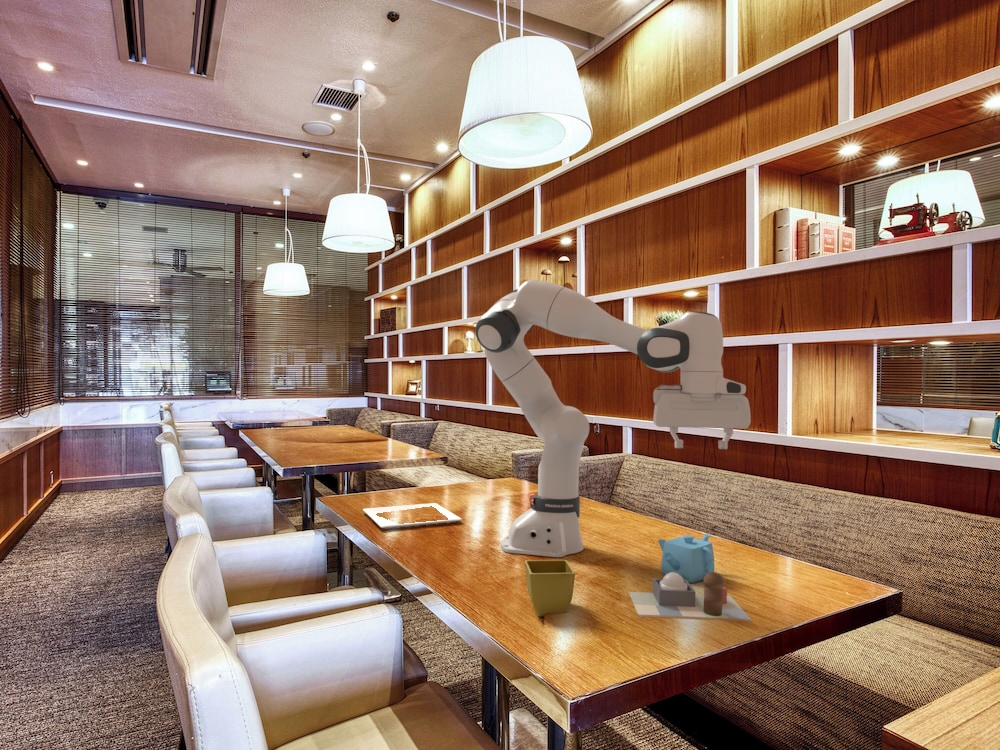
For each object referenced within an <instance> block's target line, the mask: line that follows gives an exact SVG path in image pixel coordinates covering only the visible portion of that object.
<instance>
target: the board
mask: <svg viewBox="0 0 1000 750" xmlns="http://www.w3.org/2000/svg"><path fill="white" fill-rule="evenodd" d="M661 580H663V578H652V592H645V591H643V592H641V591H628V595H629V596H630V599H631V601H632V604H633V605H634V608H635V611H636V613H637V616H638V617H639V618H656V619H657V618H659V619H660V618H662V619H663V618H664V619H683V620H684V619H685V620H687V619H688V620H708V621H727V622H729V621H732V622H754V621H753V619H752V618H751V617H749V615H748V614H747V613H746V612H745V611H744V609H743V608H742V606H740V605H739V604H738V603H737V602H736V600H735V599H734V598H733V597H732V596H731V595H727V604H722V615H720V616H712V615H709V614H706V613H704V611H703V609H704V594H697V593H696V590H695V589H694V588H693V586H692V585H691V583H689V582H688V581H687V580H684V582H685V583H686V584H687V591H686V590H662V589H661V588H660V581H661Z"/></svg>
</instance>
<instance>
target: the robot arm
mask: <svg viewBox="0 0 1000 750" xmlns="http://www.w3.org/2000/svg"><path fill="white" fill-rule="evenodd" d="M535 326H538V327H540V328H543V329H544V330H545V329H546V330H548V331H550V332H553V333H554V334H558V335H561V336H567V337H569V338H576V339H584V340H593V341H599V342H603V343H607V344H610V345H613V346H615V347H618V348H621V349H623V350H624V351H627V352H630V353H633V354H635V355H636V356H638V358H639V360H640V361H641V362H642V363H643V364H644V365H645V366H646V367H647V368H650V369H653V370H655V371H657V372H659V373H662V374H663V373H665V374H667V373H673V372H675V371H677V370H679V369H680V378H679V380H680V383H679V384H671V385H667V384H660V385H659V386H657V387H656V388H655V389H654V390H653V392H652V400H653V403H654V408H653V417H652V419H653V422H652V423H654V425H655V426H656V427H659V428H669V433H670V435H671V438H672V439H673V440H674V448H675V449H684V440H683V439H679V437H678V434H677V433H679V428H693V429H695V428H696V429H697V428H699V429H700V428H701V429H702V428H703V429H704V428H709V429H723V433H725V434H724V436H723V438H722V440H718V441H717V442H718V443H717V444H718V446H717V447H718V449H719V450H728V447H729V446H728V443H729V441H730V439H731V438H732V436H733V434H734V429H748V428H749V426H750V425H751V422H752V421H751V417H752V416H751V415H752V414H751V407H750V402H749V399H748V397H746V396H745V394H746V392H747V386H746V385H745V384H743V383H741V382H737V381H734V380H731V379H728V378H725V377H724V369H723V365H722V356H723V354H724V335H723V334H724V333H723V327H722V322H721V320H720V319H719V318H718V317H717V316H716V315H715V314H712V313H710V312H705V311H704V312H703V311H698V310H690V311H689V310H688V311H685V312H684V313H683V314H681V316H679V317H677V318H676V319H674V320H672V321H670V322H667V323H666V324H662V325H660V326H659V325H658V326H655V327H652V328H650V329H648V330H647V329H644V328H642V327H639V326H637V325H634V324H631V323H628V322H626V321H623V320H621V319H618V318H616V317H615V316H613V315H611V314H609V312H607V311H606V310H604V309H603V308H601V307H600V306H599V305H598V304H596V303H595V302H594V301H592V300H591V299H589V298H588V297H587V296H585V295H583V294H581V293H579V292H577V291H575V290H573V289H571V288H570V287H569V288H568V287H566V286H562V285H560V284H556V283H553V282H549V281H545V280H538V279H528V280H526V281H524V282H523V283H521V285H520V286H519V287H518V288H517V289H514V290H512V291H510V292H508V293H507V294H506V295H505V296H503V297H501V298H500V299H499V300H497V301H495V303H494V304H493V305H492V306H491V307H490V308H489V309H488V310H487V312H484V314H482V315H481V317H480V318H479V319H478V321H477V322H476V325H475V329H474V331H475V337H476V340H477V342H478V343H479V344H480V346H481V347H483V348H484V350H483V351H484V355H485V356H486V359H487V361H488V363H489V366H491V368H492V370H493V372H494V373H495V374H496V377H497V378H498V379H499V380H500V381H501V383H502V385H504V387H505V389H506V390H507V391H508V393H509V394H510V395H511V396H512V398H513V400H514V401H515V402H516V403H517V405H518V406H519V409H521V410H520V411H521V412H522V414H523V415H524V417H525V419H526V420H527V422H528V423H529V425H530V427H531V429H533V432H534V433H535V435H536V436H537V438H539V439H540V440H542V441H544V443H543V450H542V454H541V459H540V462H539V464H538V469H537V494H535V493H530V495H529V496H528V500H529V504H530V506H529V507H530V508H529V509H528V510H526V511H525V512H523V513H522V514H521V515H519V516H518V517H517V518H516V519H514V520H513V522H512V523H511V526H510V529H509V535H508V536H505V537H503V539H502V540H501V545H500V548H501V550H503V552H506V553H509V554H521V555H532V556H541V557H542V556H543V557H553V558H562V557H566V556H567V555H571V554H572V555H573V554H576V553H579V552H580V553H581V552H582V551H583V550H584V549H585V548H584V544H583V539H582V535H581V529H580V519H579V518H580V515H581V499H580V498H581V497H580V495H579V479H580V478H579V477H580V476H579V473H580V463H581V459H582V452H583V449H584V446H585V445H584V444H585V442H586V440H587V438H588V436H589V433H590V422H589V420H588V418H587V416H586V415H585V413H583V412H582V411H580V409H578V408H576V407H575V406H570V405H565V404H564V403H563V402H562V401H561V400H560V398H559V397H558V394H557V392H556V391H555V388H554V387H553V384H552V380H551V378H550V377H549V376H548V374H547V373H546V371H545V370H544V369H543V368H542V366H541V364H539V362H538V360H537V359H536V358H535V356H533V354H532V353H531V351H530V350H529V349H528V347H527V346H526V343H525V341H524V340H525V335H526V334H528V333H530V332H531V331H532V330H533V328H534V327H535Z"/></svg>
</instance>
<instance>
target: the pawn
mask: <svg viewBox="0 0 1000 750" xmlns="http://www.w3.org/2000/svg"><path fill="white" fill-rule="evenodd" d="M702 581H703V586H704V588H703V590H704V591H703V595H704V609H703V611H704V613H706V614H709V615H712V616H720V615H722V604H723V587H725V580H724V578H723V576H722V575H721V574H720V573H718V572H716V571H714V572H709V573H707V574H706V575H705V577H704V580H702Z"/></svg>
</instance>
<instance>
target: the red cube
mask: <svg viewBox="0 0 1000 750" xmlns="http://www.w3.org/2000/svg"><path fill="white" fill-rule="evenodd" d="M727 589H728V588H726V587H725V586H724V587H723V604H727V596H728V595H727V594H728V590H727Z"/></svg>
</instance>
